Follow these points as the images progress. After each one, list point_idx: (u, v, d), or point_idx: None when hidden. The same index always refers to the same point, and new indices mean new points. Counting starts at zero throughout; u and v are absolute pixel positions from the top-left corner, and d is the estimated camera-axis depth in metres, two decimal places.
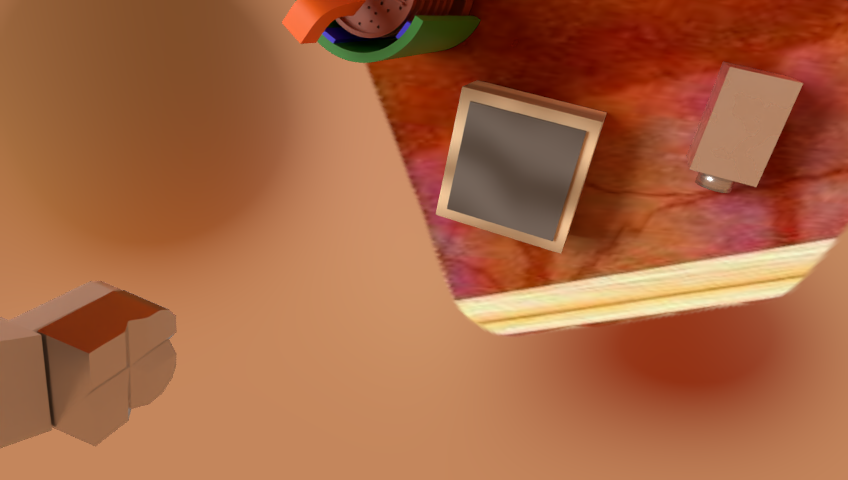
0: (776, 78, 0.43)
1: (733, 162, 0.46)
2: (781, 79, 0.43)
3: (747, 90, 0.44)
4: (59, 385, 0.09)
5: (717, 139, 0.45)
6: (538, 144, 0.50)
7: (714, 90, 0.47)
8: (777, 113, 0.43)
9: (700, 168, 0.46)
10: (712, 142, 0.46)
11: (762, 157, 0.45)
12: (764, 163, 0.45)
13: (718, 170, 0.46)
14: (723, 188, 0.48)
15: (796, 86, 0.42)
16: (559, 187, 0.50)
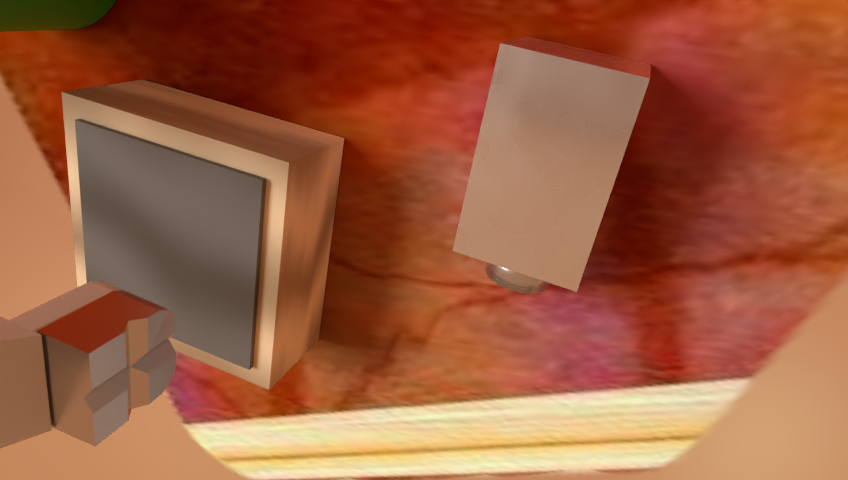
0: (594, 68, 0.19)
1: (529, 241, 0.22)
2: (604, 70, 0.19)
3: (539, 94, 0.20)
4: (59, 385, 0.09)
5: (494, 195, 0.22)
6: (193, 200, 0.26)
7: None
8: (602, 144, 0.20)
9: (471, 250, 0.23)
10: (486, 200, 0.22)
11: (582, 234, 0.21)
12: (587, 246, 0.21)
13: (504, 255, 0.23)
14: (525, 284, 0.24)
15: (636, 85, 0.19)
16: (240, 279, 0.27)
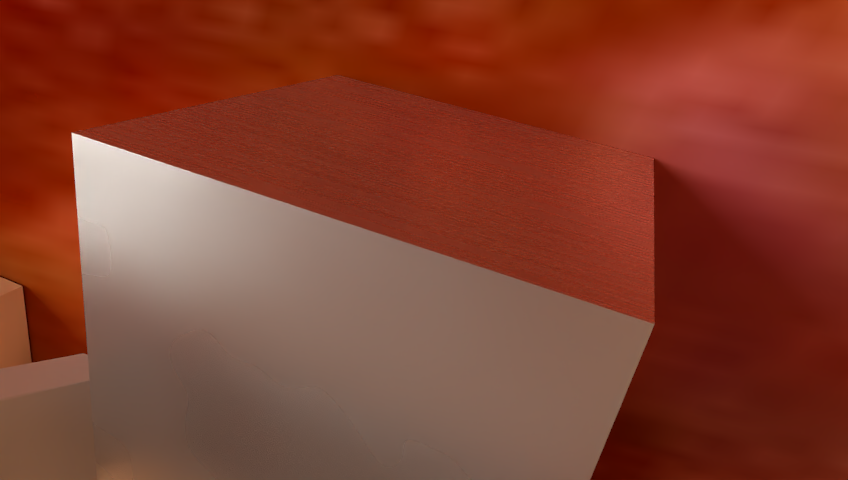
0: (410, 254, 0.04)
1: None
2: (453, 266, 0.04)
3: (231, 323, 0.05)
4: None
5: None
6: None
7: None
8: None
9: None
10: None
11: None
12: None
13: None
14: None
15: (592, 345, 0.04)
16: None
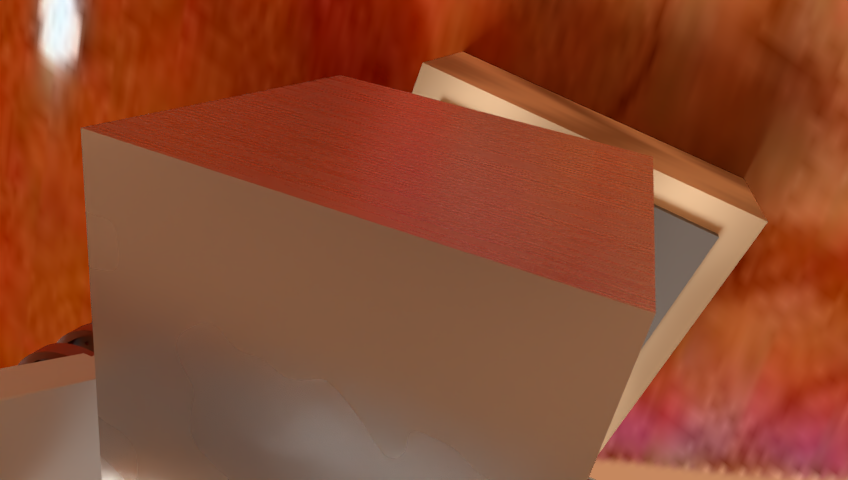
0: (415, 246, 0.04)
1: None
2: (458, 258, 0.04)
3: (236, 318, 0.05)
4: None
5: None
6: None
7: None
8: None
9: None
10: None
11: None
12: None
13: None
14: None
15: (594, 335, 0.04)
16: None
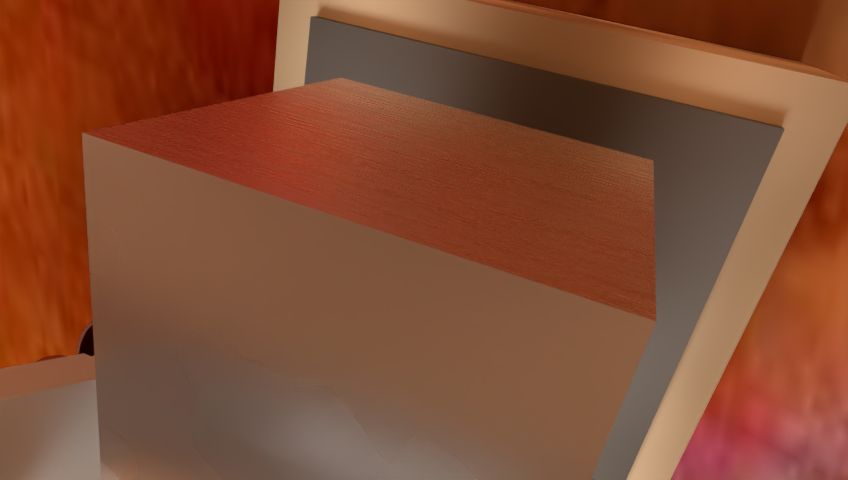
0: (416, 253, 0.05)
1: None
2: (459, 265, 0.04)
3: (238, 322, 0.05)
4: None
5: None
6: None
7: None
8: None
9: None
10: None
11: None
12: None
13: None
14: None
15: (594, 342, 0.04)
16: (520, 107, 0.12)
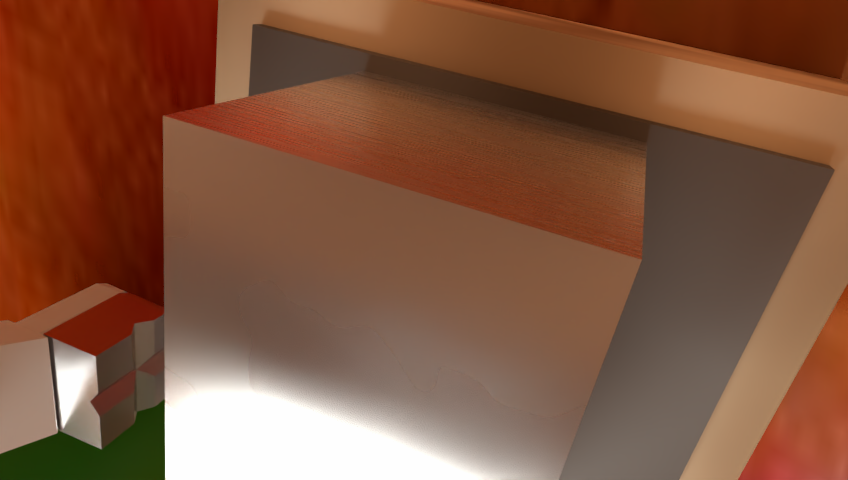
0: (446, 209, 0.06)
1: None
2: (481, 218, 0.05)
3: (292, 275, 0.06)
4: (65, 388, 0.09)
5: None
6: None
7: None
8: (493, 438, 0.06)
9: None
10: None
11: None
12: None
13: None
14: None
15: (592, 279, 0.05)
16: None
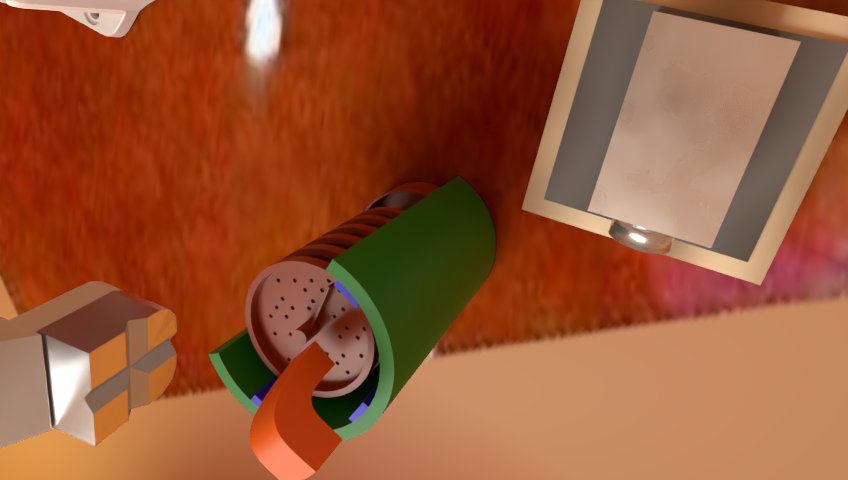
0: (745, 32, 0.21)
1: (666, 199, 0.24)
2: (756, 34, 0.21)
3: (688, 58, 0.22)
4: (59, 385, 0.09)
5: (634, 155, 0.24)
6: (624, 80, 0.27)
7: None
8: (748, 105, 0.22)
9: (607, 209, 0.25)
10: (626, 161, 0.24)
11: (721, 191, 0.23)
12: (725, 203, 0.23)
13: (639, 214, 0.24)
14: (653, 245, 0.26)
15: (786, 48, 0.21)
16: None
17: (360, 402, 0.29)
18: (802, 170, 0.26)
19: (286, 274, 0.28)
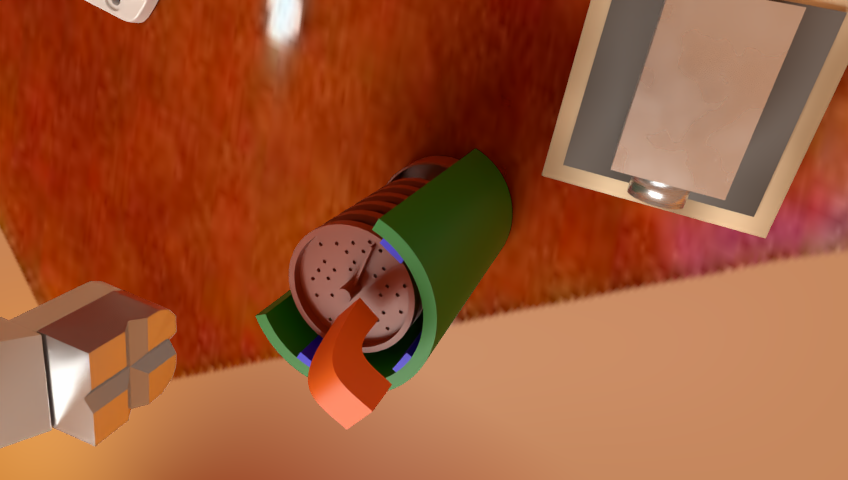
0: (756, 0, 0.23)
1: (684, 156, 0.26)
2: (765, 2, 0.23)
3: (703, 25, 0.24)
4: (59, 385, 0.09)
5: (654, 117, 0.26)
6: (638, 51, 0.30)
7: (653, 34, 0.28)
8: (759, 67, 0.24)
9: (628, 168, 0.27)
10: (646, 122, 0.26)
11: (734, 147, 0.25)
12: (737, 158, 0.25)
13: (659, 171, 0.26)
14: (670, 201, 0.28)
15: (793, 14, 0.23)
16: None
17: (399, 356, 0.31)
18: (803, 129, 0.29)
19: (328, 238, 0.30)
